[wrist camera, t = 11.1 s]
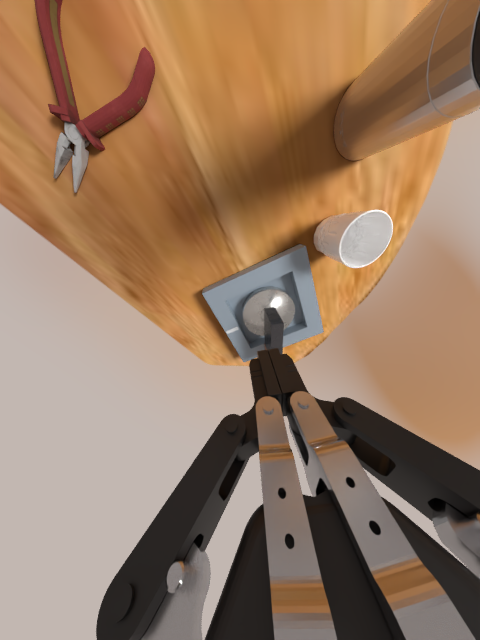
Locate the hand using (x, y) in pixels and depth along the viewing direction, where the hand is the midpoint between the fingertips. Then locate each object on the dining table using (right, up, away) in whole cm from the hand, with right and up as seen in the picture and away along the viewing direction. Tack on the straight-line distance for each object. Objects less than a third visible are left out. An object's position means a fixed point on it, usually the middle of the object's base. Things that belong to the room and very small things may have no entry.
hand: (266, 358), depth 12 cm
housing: (+4, +6, +29) cm, 30 cm away
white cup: (+16, +20, +21) cm, 33 cm away
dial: (+5, +3, +29) cm, 30 cm away
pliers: (-23, +33, +10) cm, 42 cm away
